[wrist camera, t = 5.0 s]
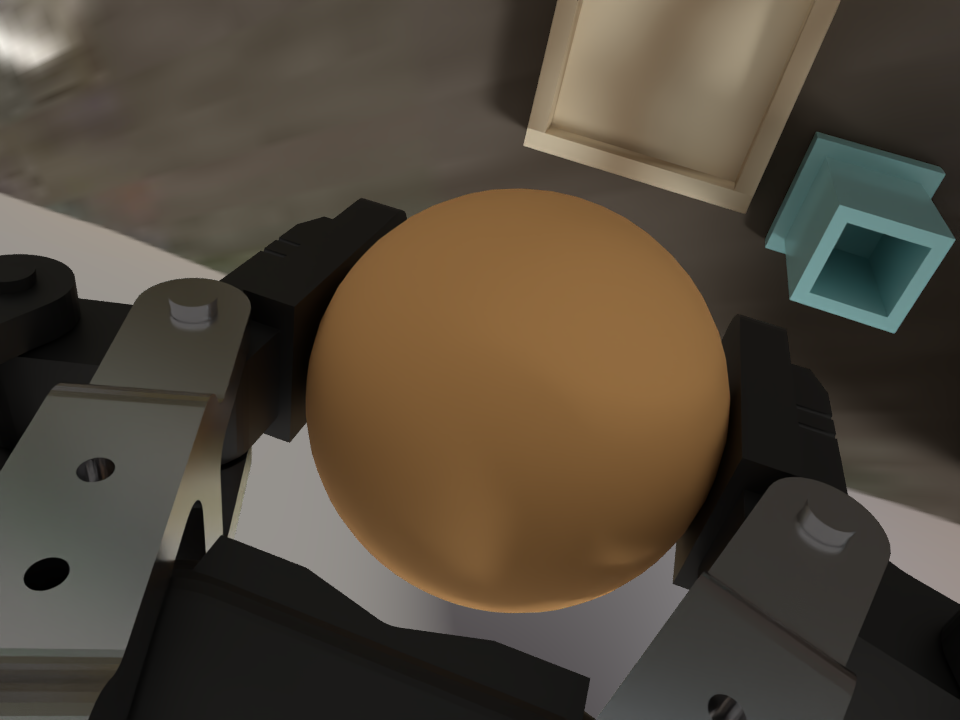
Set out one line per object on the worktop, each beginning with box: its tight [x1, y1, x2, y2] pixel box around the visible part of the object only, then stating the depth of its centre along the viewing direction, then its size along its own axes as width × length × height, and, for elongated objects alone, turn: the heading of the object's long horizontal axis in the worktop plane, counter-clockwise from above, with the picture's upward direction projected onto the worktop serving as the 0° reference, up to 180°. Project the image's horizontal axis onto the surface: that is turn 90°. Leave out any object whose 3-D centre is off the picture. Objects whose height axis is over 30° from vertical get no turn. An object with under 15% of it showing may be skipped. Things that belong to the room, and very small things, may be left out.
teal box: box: [765, 132, 956, 334], centre depth 27 cm, size 5×5×7 cm
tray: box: [523, 0, 841, 214], centre depth 29 cm, size 10×10×2 cm
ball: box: [306, 189, 730, 613], centre depth 10 cm, size 6×6×6 cm
